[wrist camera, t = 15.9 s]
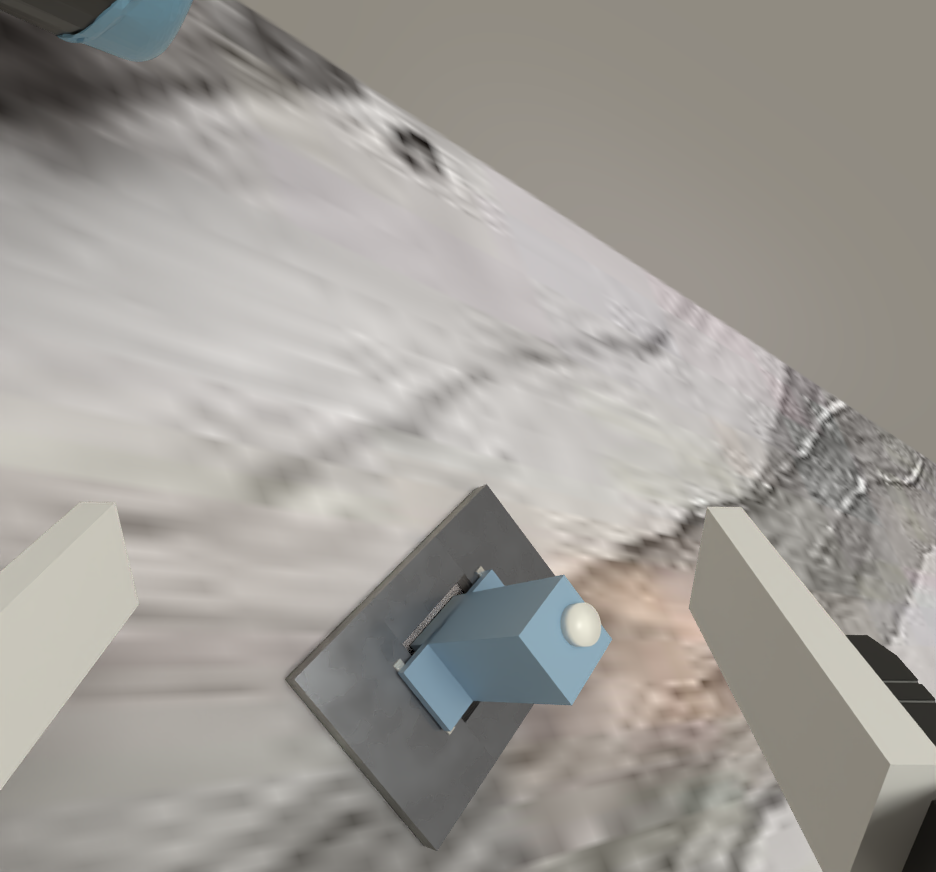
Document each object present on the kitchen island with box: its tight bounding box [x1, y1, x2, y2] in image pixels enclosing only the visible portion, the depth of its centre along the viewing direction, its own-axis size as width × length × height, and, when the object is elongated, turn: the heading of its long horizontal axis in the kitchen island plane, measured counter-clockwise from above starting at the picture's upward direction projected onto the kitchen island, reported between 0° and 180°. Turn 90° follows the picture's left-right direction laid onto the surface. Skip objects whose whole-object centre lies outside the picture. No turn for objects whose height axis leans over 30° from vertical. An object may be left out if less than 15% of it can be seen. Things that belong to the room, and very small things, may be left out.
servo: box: [398, 569, 612, 732], centre depth 40 cm, size 10×5×13 cm, turn 135°
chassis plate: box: [285, 484, 555, 851], centre depth 45 cm, size 20×14×2 cm
